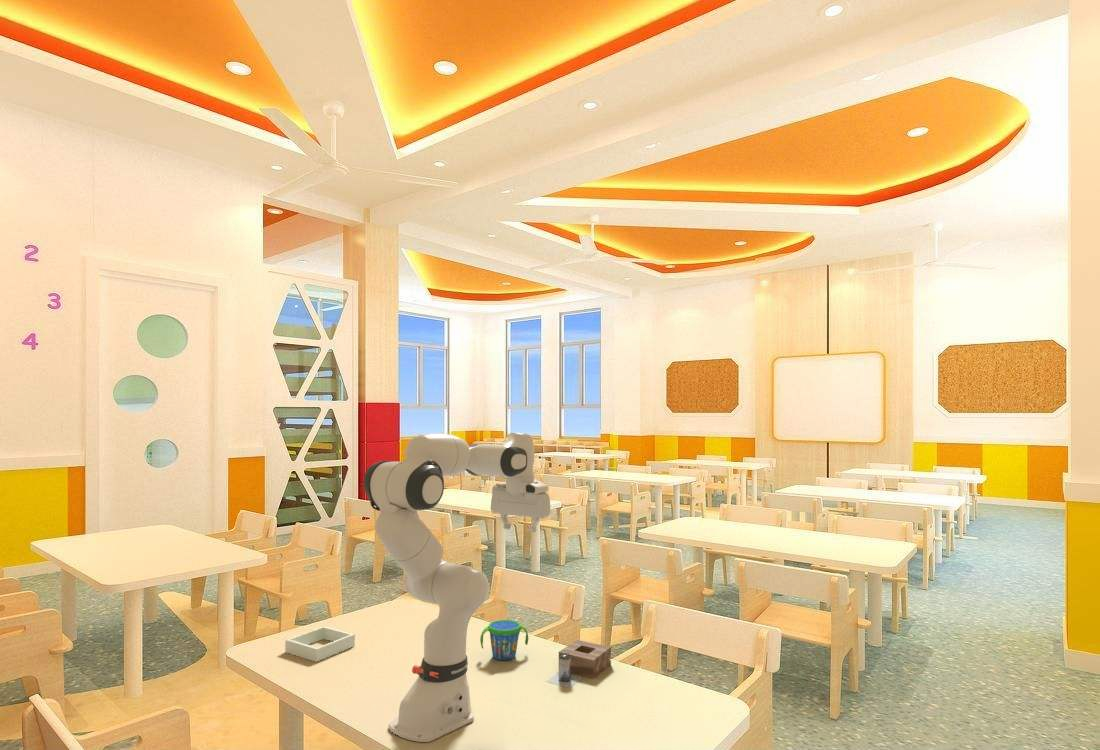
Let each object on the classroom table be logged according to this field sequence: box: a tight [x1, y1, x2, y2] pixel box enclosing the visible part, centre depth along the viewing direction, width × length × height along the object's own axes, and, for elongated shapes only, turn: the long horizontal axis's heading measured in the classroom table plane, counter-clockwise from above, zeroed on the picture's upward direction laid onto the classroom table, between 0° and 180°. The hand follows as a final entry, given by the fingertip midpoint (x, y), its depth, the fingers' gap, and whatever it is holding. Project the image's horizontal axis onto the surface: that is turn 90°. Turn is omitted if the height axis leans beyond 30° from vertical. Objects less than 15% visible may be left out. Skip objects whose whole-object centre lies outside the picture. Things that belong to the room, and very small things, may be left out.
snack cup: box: [479, 619, 529, 661], centre depth 203 cm, size 16×10×10 cm
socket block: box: [558, 639, 612, 680], centre depth 194 cm, size 12×12×6 cm
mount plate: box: [545, 672, 583, 689], centre depth 185 cm, size 8×8×1 cm
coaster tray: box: [284, 625, 356, 663], centre depth 209 cm, size 16×16×4 cm
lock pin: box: [558, 653, 572, 682], centre depth 185 cm, size 4×4×7 cm
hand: (519, 530), depth 193 cm, fingers open, 8 cm apart
